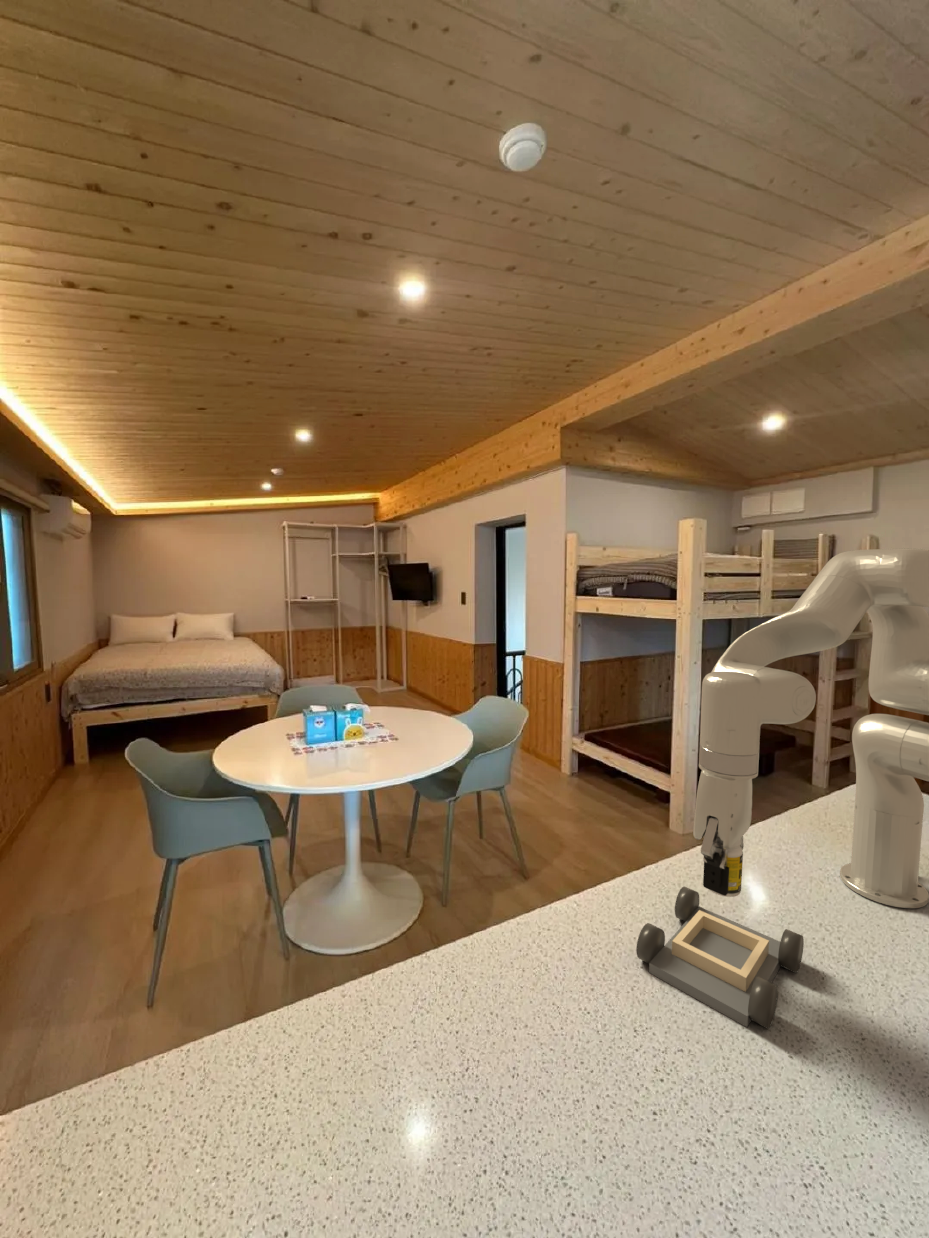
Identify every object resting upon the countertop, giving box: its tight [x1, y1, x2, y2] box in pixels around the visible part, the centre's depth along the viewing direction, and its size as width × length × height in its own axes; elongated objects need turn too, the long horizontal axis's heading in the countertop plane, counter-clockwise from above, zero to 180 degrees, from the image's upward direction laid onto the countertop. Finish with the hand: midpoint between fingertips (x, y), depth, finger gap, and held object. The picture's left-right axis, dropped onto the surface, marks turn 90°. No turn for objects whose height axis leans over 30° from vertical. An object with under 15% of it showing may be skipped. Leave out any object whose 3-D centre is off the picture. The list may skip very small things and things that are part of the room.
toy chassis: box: [635, 886, 805, 1029], centre depth 78 cm, size 18×17×5 cm
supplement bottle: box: [709, 838, 744, 898], centre depth 76 cm, size 5×5×8 cm
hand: (722, 881), depth 77 cm, fingers closed on supplement bottle, 4 cm apart
